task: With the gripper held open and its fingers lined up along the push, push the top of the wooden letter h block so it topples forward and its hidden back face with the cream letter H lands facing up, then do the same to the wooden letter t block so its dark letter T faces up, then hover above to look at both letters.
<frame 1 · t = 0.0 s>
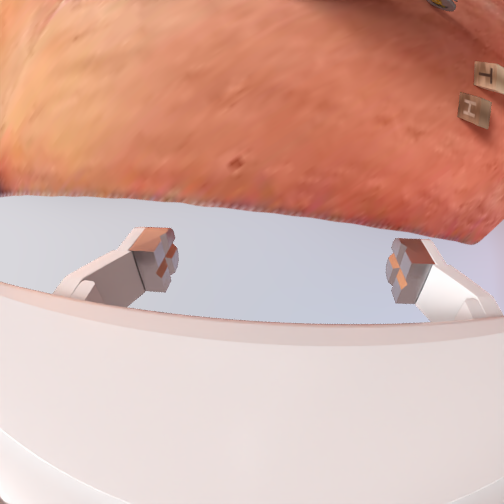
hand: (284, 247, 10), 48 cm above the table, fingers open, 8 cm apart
wooden letter t block: (479, 74, 35), on the table
wooden letter h block: (463, 106, 41), on the table
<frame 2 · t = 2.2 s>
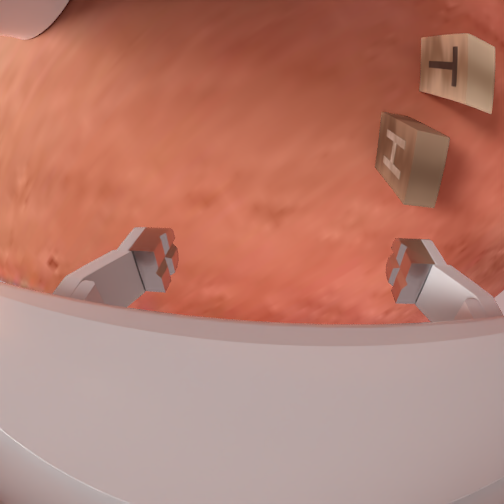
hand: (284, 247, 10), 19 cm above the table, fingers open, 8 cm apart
wooden letter t block: (433, 67, 18), on the table
wooden letter h block: (391, 141, 24), on the table
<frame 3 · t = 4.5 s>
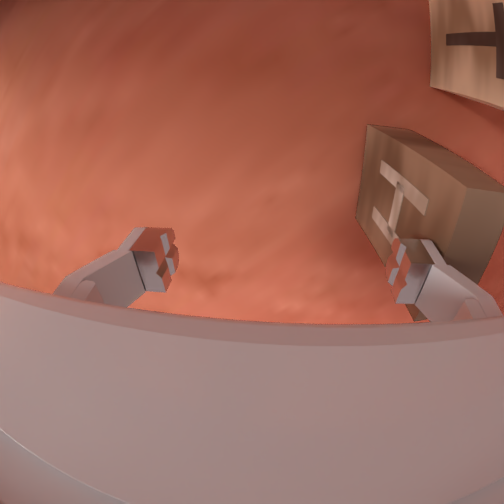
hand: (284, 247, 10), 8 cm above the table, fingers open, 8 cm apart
wooden letter t block: (451, 48, 10), on the table
wooden letter h block: (384, 174, 15), on the table, tilted 8°
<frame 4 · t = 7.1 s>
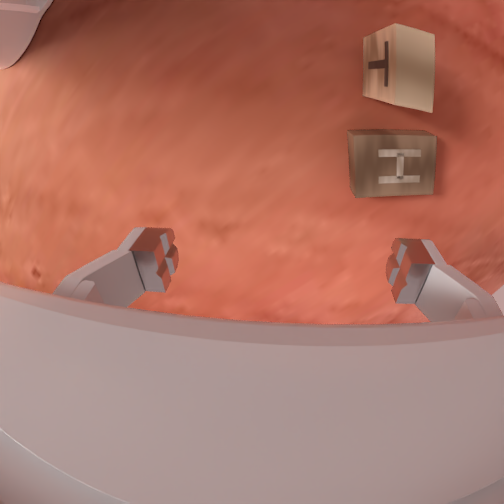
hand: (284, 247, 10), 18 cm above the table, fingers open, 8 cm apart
wooden letter t block: (378, 68, 20), on the table
wooden letter h block: (351, 162, 24), point 1 cm above the table, tilted 90°
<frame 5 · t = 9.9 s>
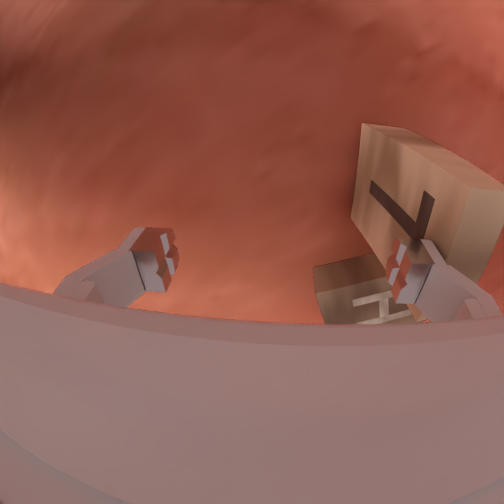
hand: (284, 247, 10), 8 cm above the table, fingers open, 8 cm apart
wooden letter t block: (378, 173, 15), on the table, tilted 11°
wooden letter h block: (322, 306, 21), point 1 cm above the table, tilted 90°
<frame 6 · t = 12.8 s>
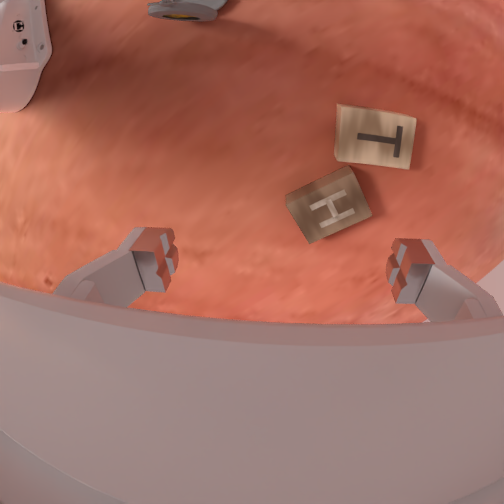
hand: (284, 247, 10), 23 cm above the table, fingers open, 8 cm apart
wooden letter t block: (337, 131, 27), point 1 cm above the table, tilted 90°
wooden letter h block: (297, 219, 34), point 1 cm above the table, tilted 90°
pocket watch: (199, 1, 20), on the table
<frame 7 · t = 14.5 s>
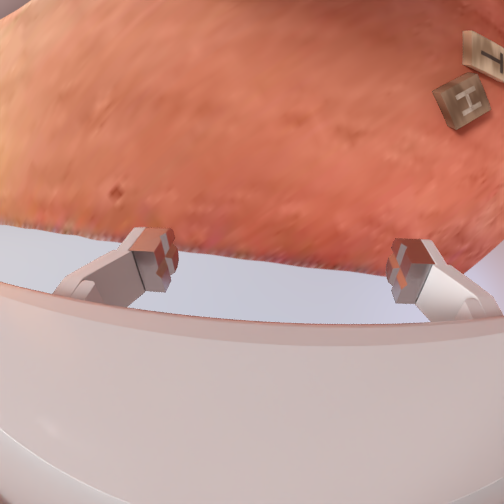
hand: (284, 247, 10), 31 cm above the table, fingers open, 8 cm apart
wooden letter t block: (466, 47, 22), point 1 cm above the table, tilted 90°
wooden letter h block: (443, 110, 29), point 1 cm above the table, tilted 90°
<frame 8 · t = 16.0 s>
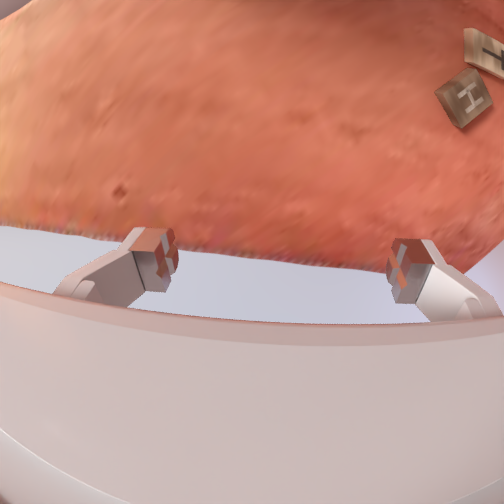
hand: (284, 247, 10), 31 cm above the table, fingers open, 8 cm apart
wooden letter t block: (468, 44, 22), point 1 cm above the table, tilted 90°
wooden letter h block: (447, 109, 29), point 1 cm above the table, tilted 90°
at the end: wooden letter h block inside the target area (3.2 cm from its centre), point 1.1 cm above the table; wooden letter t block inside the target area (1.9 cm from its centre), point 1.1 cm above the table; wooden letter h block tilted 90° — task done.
